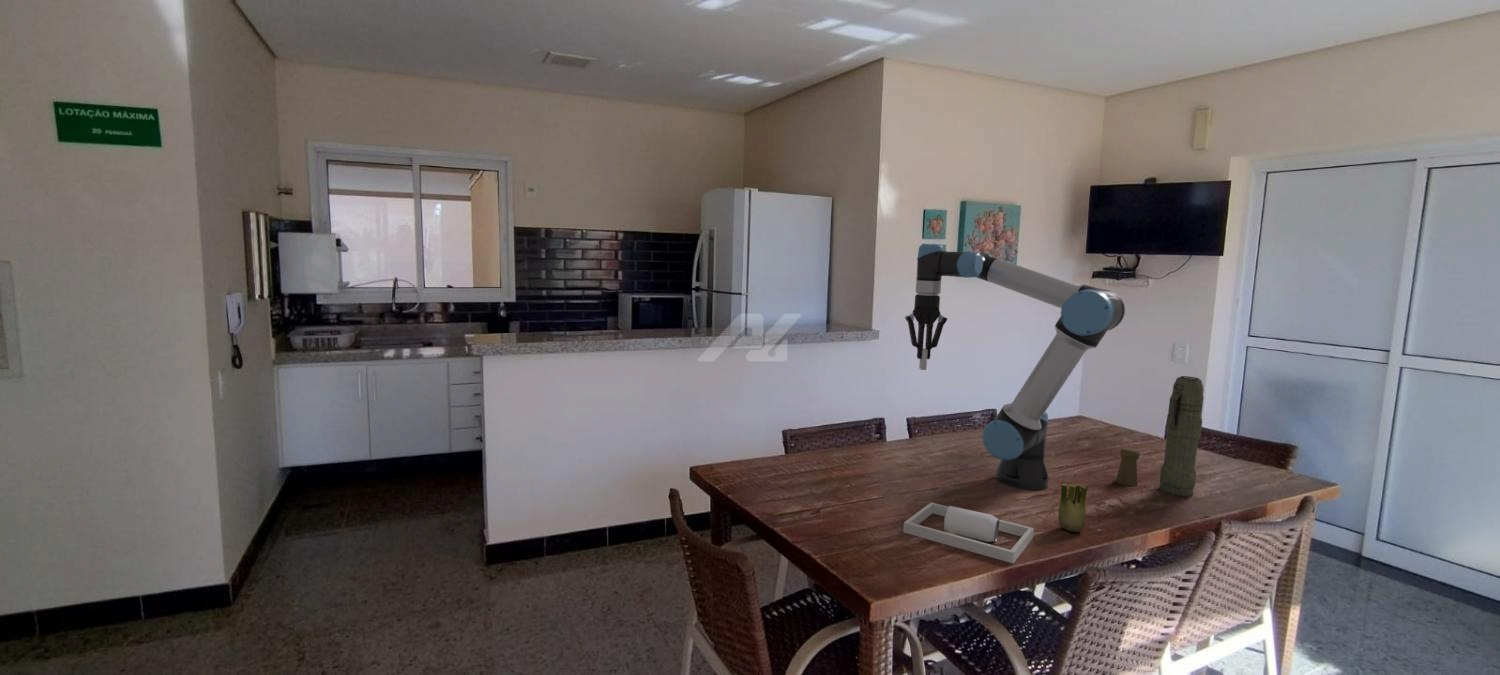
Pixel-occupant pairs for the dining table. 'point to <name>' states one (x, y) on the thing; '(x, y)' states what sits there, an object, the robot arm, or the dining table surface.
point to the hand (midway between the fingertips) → (922, 369)
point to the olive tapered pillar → (1128, 467)
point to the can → (971, 524)
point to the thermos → (1182, 437)
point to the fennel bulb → (1072, 508)
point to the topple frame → (965, 543)
